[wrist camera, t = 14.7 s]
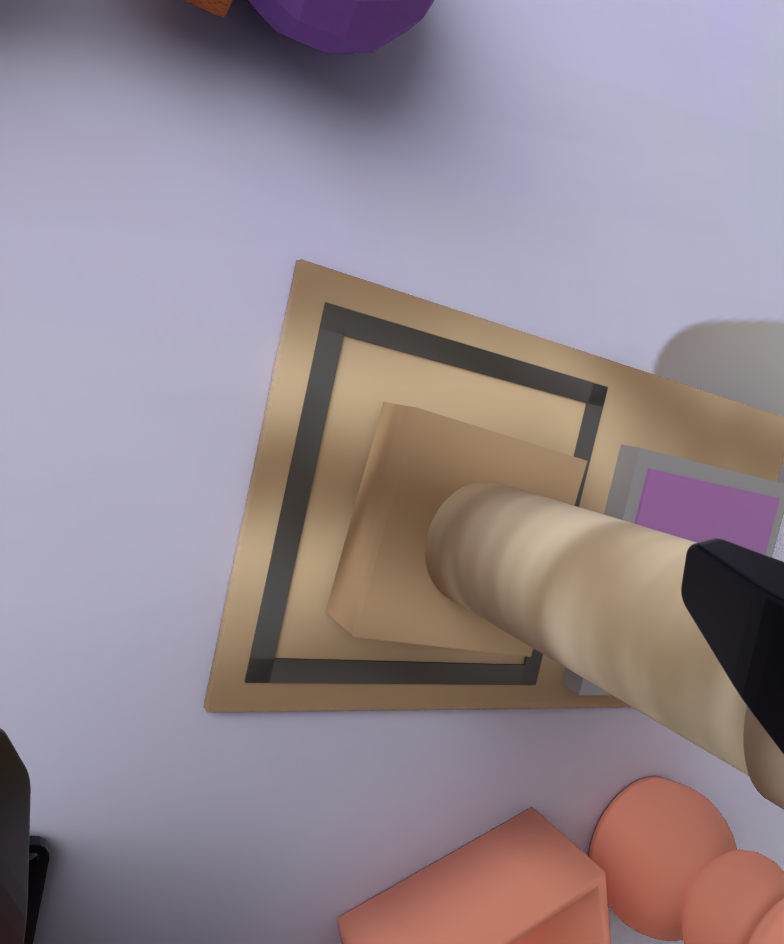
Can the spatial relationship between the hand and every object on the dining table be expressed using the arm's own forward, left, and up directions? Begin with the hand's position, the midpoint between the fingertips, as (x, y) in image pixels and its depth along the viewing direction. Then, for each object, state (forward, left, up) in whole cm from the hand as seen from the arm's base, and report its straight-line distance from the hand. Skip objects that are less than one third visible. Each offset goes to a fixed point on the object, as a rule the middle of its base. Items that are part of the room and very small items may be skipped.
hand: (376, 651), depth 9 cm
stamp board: (0, -15, -13) cm, 20 cm away
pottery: (-16, -19, -13) cm, 28 cm away
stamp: (0, -9, -13) cm, 16 cm away
